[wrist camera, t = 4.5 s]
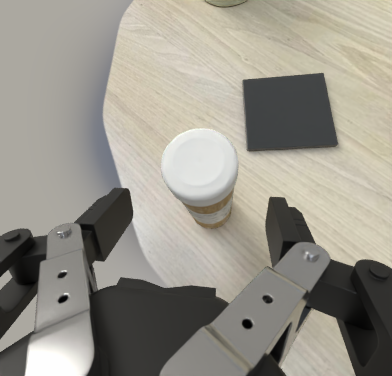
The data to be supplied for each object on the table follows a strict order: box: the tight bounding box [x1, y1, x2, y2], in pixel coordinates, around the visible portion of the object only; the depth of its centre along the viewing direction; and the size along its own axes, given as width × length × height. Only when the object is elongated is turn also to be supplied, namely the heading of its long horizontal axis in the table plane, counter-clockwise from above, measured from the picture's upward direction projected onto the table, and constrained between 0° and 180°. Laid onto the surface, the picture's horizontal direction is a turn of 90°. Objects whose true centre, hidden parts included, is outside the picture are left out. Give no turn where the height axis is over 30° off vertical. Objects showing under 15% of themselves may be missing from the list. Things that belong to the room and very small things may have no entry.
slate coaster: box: [242, 73, 338, 151], centre depth 28 cm, size 10×10×1 cm
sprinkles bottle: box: [161, 128, 238, 229], centre depth 19 cm, size 5×5×14 cm
